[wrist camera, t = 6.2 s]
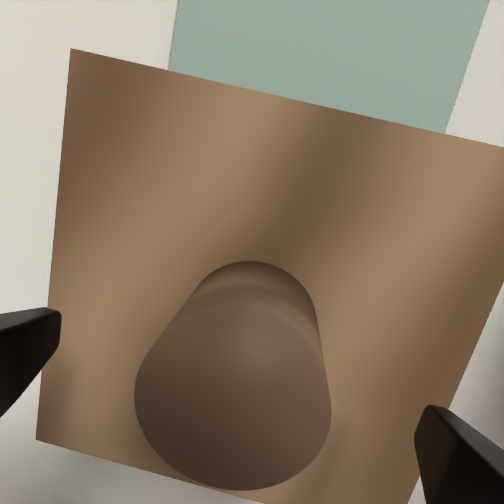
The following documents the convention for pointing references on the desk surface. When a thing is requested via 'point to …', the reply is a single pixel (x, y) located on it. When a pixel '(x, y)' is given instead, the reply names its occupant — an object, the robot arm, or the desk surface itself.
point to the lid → (261, 284)
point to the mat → (335, 52)
